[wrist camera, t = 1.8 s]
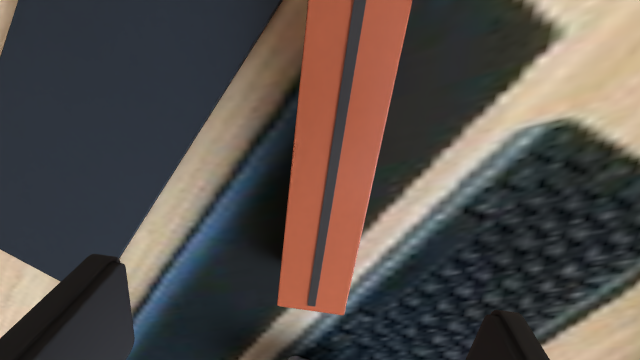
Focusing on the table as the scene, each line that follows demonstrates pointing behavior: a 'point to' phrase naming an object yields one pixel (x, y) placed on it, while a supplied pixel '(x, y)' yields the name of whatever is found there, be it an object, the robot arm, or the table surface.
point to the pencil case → (337, 144)
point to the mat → (106, 114)
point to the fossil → (296, 358)
